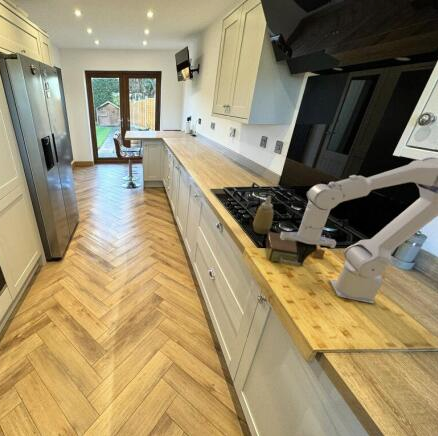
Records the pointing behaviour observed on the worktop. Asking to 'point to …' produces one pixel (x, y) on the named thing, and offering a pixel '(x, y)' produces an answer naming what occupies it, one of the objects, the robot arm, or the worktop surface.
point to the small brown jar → (318, 252)
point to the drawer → (285, 258)
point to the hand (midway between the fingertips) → (299, 261)
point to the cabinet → (279, 245)
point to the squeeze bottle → (264, 217)
